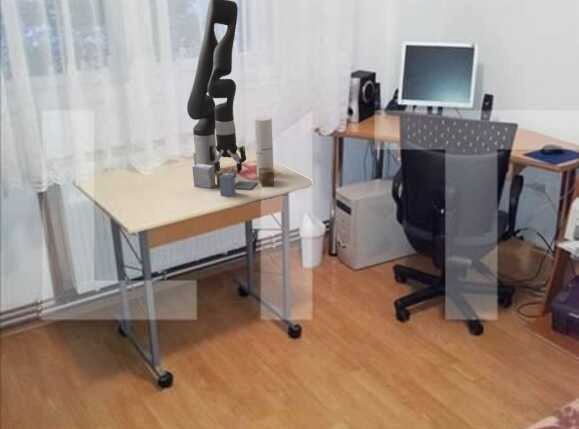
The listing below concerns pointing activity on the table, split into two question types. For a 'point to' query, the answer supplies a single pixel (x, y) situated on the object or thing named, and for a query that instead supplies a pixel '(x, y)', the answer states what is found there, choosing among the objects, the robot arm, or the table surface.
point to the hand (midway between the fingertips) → (228, 171)
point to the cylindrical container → (263, 142)
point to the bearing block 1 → (222, 170)
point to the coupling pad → (245, 185)
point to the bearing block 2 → (266, 176)
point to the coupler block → (227, 184)
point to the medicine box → (204, 175)
